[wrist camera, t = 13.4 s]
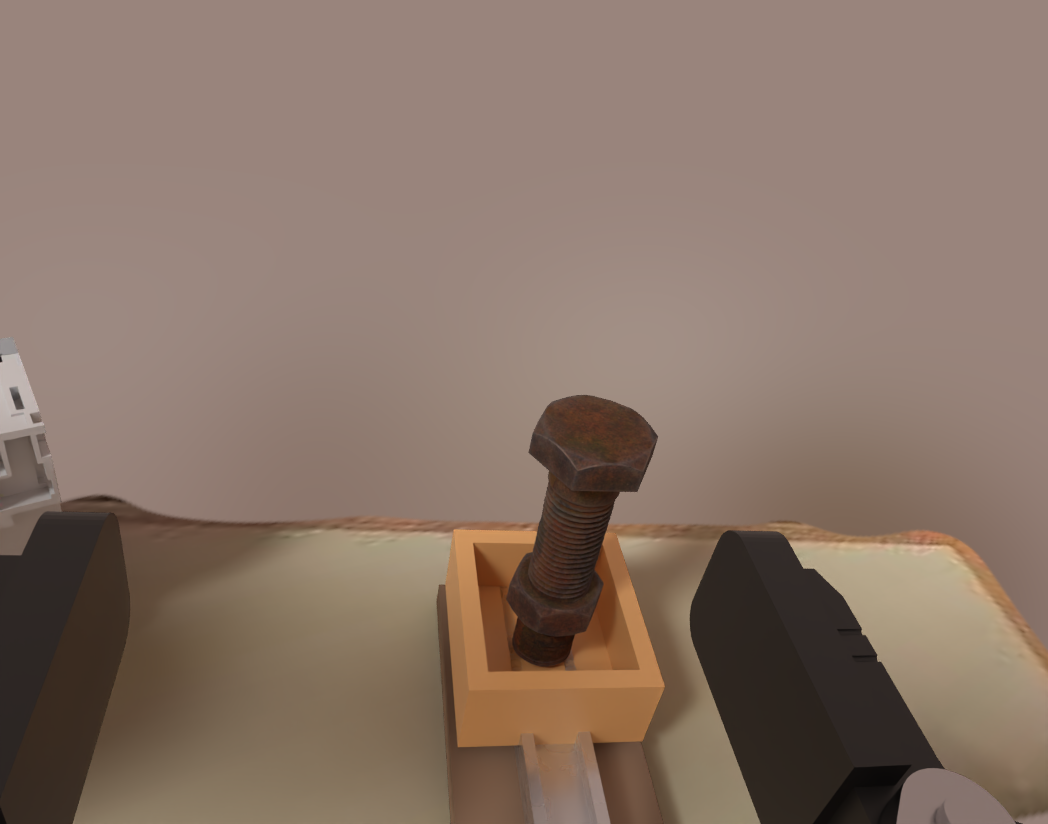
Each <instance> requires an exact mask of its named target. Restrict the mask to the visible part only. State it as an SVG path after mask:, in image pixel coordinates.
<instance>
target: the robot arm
mask: <svg viewBox="0 0 1048 824" xmlns="http://www.w3.org/2000/svg"><path fill="white" fill-rule="evenodd" d="M129 617H130V596H129V588H128V582H127V575H126V569H125V563H124V556H123V550H122V543H121V537H120V530H119V524H118V520H117V517H116V515H115V514H114V513H94V512H55V511H46V512H44V513H43V514H42V515H41V516H40V518H39V519H38V521H37V523H36V525H35V527H34V529H33V531H32V533H31V535H30V538H29V540H28V542H27V544H26V546H25V548H24V550H23V553H22V555H0V824H72V823H73V820H74V816H75V813H76V810H77V806H78V803H79V799H80V796H81V793H82V789H83V786H84V783H85V779H86V776H87V772H88V769H89V766H90V762H91V759H92V755H93V752H94V749H95V745H96V742H97V739H98V735H99V732H100V728H101V725H102V722H103V718H104V715H105V711H106V708H107V705H108V701H109V698H110V695H111V691H112V688H113V684H114V681H115V678H116V674H117V671H118V667H119V664H120V661H121V657H122V654H123V651H124V647H125V643H126V639H127V633H128V627H129ZM861 630H862V628H861V627H860V625H859V623H858V621H857V620H856V618H855V616H854V615H853V613H852V611H851V610H850V608H849V606H848V604H847V603H846V601H845V599H844V598H843V596H842V595H841V594H840V593H839V592H837V591H836V590H835V589H834V588H833V587H832V586H831V585H830V584H829V583H828V582H827V581H826V580H825V579H824V578H823V577H822V576H821V575H820V574H819V573H818V572H817V571H816V570H815V569H803V567H802V565H801V564H800V562H799V560H798V558H797V556H796V555H795V553H794V551H793V549H792V547H791V546H790V544H789V542H788V540H787V539H786V538H785V537H784V535H782V534H781V533H779V532H770V531H726V532H725V533H723V535H722V536H721V537H720V539H719V541H718V543H717V546H716V548H715V550H714V553H713V555H712V557H711V559H710V562H709V564H708V566H707V569H706V571H705V573H704V575H703V578H702V580H701V582H700V585H699V587H698V589H697V591H696V594H695V596H694V598H693V601H692V605H691V610H690V631H691V637H692V641H693V644H694V647H695V650H696V652H697V655H698V658H699V660H700V663H701V666H702V668H703V671H704V674H705V676H706V679H707V682H708V684H709V687H710V690H711V692H712V695H713V698H714V700H715V703H716V706H717V708H718V711H719V714H720V716H721V719H722V722H723V724H724V727H725V730H726V732H727V735H728V738H729V740H730V743H731V746H732V748H733V751H734V754H735V756H736V759H737V762H738V764H739V767H740V770H741V772H742V775H743V778H744V780H745V783H746V786H747V788H748V791H749V794H750V796H751V799H752V802H753V804H754V807H755V810H756V812H757V815H758V818H759V820H760V823H761V824H1022V823H1018V822H1016V821H1014V820H1013V819H1012V817H1011V816H1010V814H1009V813H1008V812H1007V810H1006V809H1005V808H1004V807H1003V806H1002V805H1001V804H1000V803H999V802H998V800H996V799H995V798H994V797H993V796H992V795H991V794H990V793H989V792H988V791H986V790H985V789H983V788H982V787H981V786H979V785H978V784H977V783H975V782H973V781H972V780H970V779H968V778H966V777H964V776H962V775H960V774H958V773H955V772H952V771H948V770H945V769H944V767H943V766H942V764H941V763H940V761H939V760H938V758H937V757H936V755H935V753H934V751H933V750H932V748H931V746H930V745H929V743H928V741H927V739H926V738H925V736H924V734H923V733H922V731H921V729H920V727H919V726H918V724H917V722H916V721H915V719H914V717H913V716H912V714H911V712H910V710H909V709H908V707H907V705H906V704H905V702H904V700H903V698H902V697H901V695H900V693H899V692H898V690H897V688H896V686H895V685H894V683H893V681H892V680H891V678H890V676H889V674H888V673H887V671H886V669H885V668H884V666H883V664H882V663H881V662H878V661H877V654H876V652H875V651H874V649H873V647H872V645H871V644H870V642H869V640H868V639H867V637H866V635H862V633H861Z"/></svg>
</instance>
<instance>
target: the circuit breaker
mask: <svg viewBox="0 0 1048 824" xmlns="http://www.w3.org/2000/svg"><path fill="white" fill-rule="evenodd" d="M44 433H46V430H45V426H44V423H43V422H42V421H41V416H40V412H39V409H38V406H37V403H36V400H35V398H34V395H33V392H32V389H31V386H30V384H29V381H28V378H27V375H26V373H25V370H24V367H23V364H22V361H21V358H20V356H19V353H18V350H17V347H16V345H15V342H14V339H13V337H10V338H3V339H0V555H22V553H23V550H24V548H25V546H26V544H27V542H28V540H29V538H30V535H31V533H32V531H33V529H34V527H35V525H36V523H37V521H38V519H39V518H40V516H41V515H42V514H43V513H44V512H46V511H55V512H62V510H61V505H60V502H61V498H60V493H59V489H58V484H57V479H56V475H55V470H54V466H53V461H52V457H51V453H50V451H49V448H48V445H47V442H46V439H45V435H44Z"/></svg>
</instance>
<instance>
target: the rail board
mask: <svg viewBox="0 0 1048 824" xmlns="http://www.w3.org/2000/svg"><path fill="white" fill-rule="evenodd" d="M437 615H438V631H439V647H440V662H441V678H442V694H443V709H444V725H445V741H446V756H447V772H448V788H449V803H450V819H451V824H525V820H524V813H523V806H522V798H521V791H520V784H519V776H518V769H517V762H516V755H515V747H514V745H513V746H482V747H458V744H457V731H456V718H455V705H454V692H453V679H452V666H451V653H450V640H449V626H448V613H447V600H446V587H445V585H439V589H438V596H437ZM593 747H594V752H595V756H596V761H597V765H598V770H599V774H600V778H601V783H602V787H603V792H604V796H605V801H606V805H607V810H608V814H609V819H610V823H611V824H663V820H662V816H661V813H660V809H659V806H658V802H657V798H656V795H655V791H654V787H653V784H652V780H651V776H650V773H649V769H648V766H647V762H646V758H645V755H644V751H643V747H642V744H641V741H637V742H606V743H593Z"/></svg>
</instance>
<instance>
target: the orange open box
mask: <svg viewBox="0 0 1048 824" xmlns="http://www.w3.org/2000/svg"><path fill="white" fill-rule="evenodd" d="M536 536H537V531H499V530H454V531H453V538H452V544H451V551H450V557H449V564H448V571H447V577H446V584H445V587H446V600H447V613H448V626H449V640H450V653H451V666H452V679H453V692H454V705H455V718H456V731H457V744H458V747H482V746H513V745H518V743H519V740H520V736H521V733H533V735H534V742H535V745H544V744H574V743H575V740H576V737H577V735H578V732H590V734H591V738H592V743H606V742H637V741H643V739H644V736H645V734H646V731H647V729H648V727H649V724H650V722H651V719H652V717H653V715H654V712H655V710H656V707H657V705H658V703H659V700H660V698H661V695H662V693H663V691H664V688H665V685H664V682H663V679H662V676H661V673H660V670H659V666H658V663H657V660H656V657H655V654H654V651H653V648H652V645H651V641H650V638H649V635H648V632H647V629H646V626H645V623H644V620H643V616H642V613H641V610H640V607H639V604H638V601H637V598H636V595H635V591H634V588H633V585H632V582H631V579H630V576H629V573H628V570H627V567H626V563H625V560H624V557H623V554H622V551H621V548H620V545H619V542H618V538H617V535H616V533H605V536H604V540H603V543H602V546H601V549H600V553H599V556H598V560H597V562H596V566H595V571H596V572H597V574H598V575H599V577H600V578H601V580H602V581H603V583H604V585H603V588H602V591H601V594H600V597H599V600H598V603H597V606H596V608H595V611H594V613H593V616H592V618H591V621H590V623H589V626H588V628H587V630H586V631H585V632H582V633H578V634H575V637H574V640H573V643H572V648H571V651H572V652H571V651H570V653H571V654H569V656H568V659H569V658H570V655H572V654H573V657H572V656H571V658H570V659H569V660H568V659H566V660H567V661H568V663H569V664H568V663H565V662H566V661H565V662H564V661H563V662H562V663H560V664H556V665H553V666H544V667H542V666H536V665H533V664H531V663H529V662H527V661H525V660H524V659H522V658H521V657H519V656H518V655H517V654H516V652H515V651H514V650H512V649H511V648H512V647H513V646H512V643H511V642H512V638H513V636H512V635H513V633H514V630H515V629H514V627H515V625H516V622H517V618H518V616H517V615H516V614H515V613H514V612H513V610H512V608H511V607H509V606H510V605H509V603H508V602H506V601H507V600H505V599H504V598H507V596H505V595H507V593H508V591H507V590H508V589H507V588H509V585H510V582H511V580H512V578H513V575H514V573H515V571H516V569H517V567H518V565H519V563H520V562H521V560H522V559H523V557H524V556H525V555H526V553H530V552H533V547H534V543H535V540H536ZM501 586H502V588H503V589H505V590H503V589H502V588H501ZM502 590H503V592H504V591H506V592H507V593H506V592H504V594H505V595H502V594H503V592H502V593H501V591H502ZM501 596H502V597H501ZM501 598H502V600H501ZM503 600H504V601H505V602H506V603H507V604H506V603H504V601H503ZM502 602H503V603H502ZM503 604H505V605H503ZM503 607H504V608H503ZM506 608H507V609H508V608H509V609H508V610H510V612H509V611H507V609H506ZM504 609H505V611H506V612H505V611H504V612H503V610H504ZM511 611H512V612H511ZM507 612H508V613H507ZM505 613H507V614H506V617H505V618H507V619H506V620H504V614H505ZM512 613H513V614H512ZM509 614H510V615H509ZM507 615H508V616H509V617H510V618H511V619H510V618H508V616H507ZM511 615H512V616H511ZM513 615H514V616H513ZM512 617H513V618H512ZM508 619H509V620H511V621H510V623H509V621H507V620H508ZM512 620H513V622H512ZM514 620H515V621H514ZM505 621H506V624H507V623H509V624H507V625H506V624H505ZM511 622H512V623H511ZM514 622H515V623H514ZM513 623H514V624H515V625H511V624H513ZM508 625H509V626H510V627H512V628H513V630H512V628H511V631H509V630H510V627H508ZM506 626H507V628H506ZM513 626H514V627H513ZM506 629H508V630H507V631H508V632H509V634H511V633H512V634H511V635H509V634H507V633H506V632H507V631H506ZM510 632H511V633H510ZM507 635H509V636H507ZM507 638H508V641H507ZM509 640H510V642H509ZM508 643H509V645H510V647H511V648H510V647H508V646H509V645H508ZM509 648H510V649H511V650H512V652H513V653H515V654H513V653H511V650H510V649H509ZM509 650H510V651H509ZM509 652H510V653H511V655H510V654H509ZM512 654H513V657H512ZM516 655H517V656H516ZM510 656H511V657H510ZM515 656H516V657H515ZM517 657H519V658H517ZM512 658H513V659H514V660H513V659H512ZM516 658H517V660H518V661H517V660H516ZM572 658H573V659H574V660H573V661H574V665H575V666H572V665H573V661H572V662H570V660H571V659H572ZM519 659H520V660H522V661H520V660H519ZM511 661H512V663H513V664H512V663H511ZM513 661H514V662H513ZM516 662H517V664H518V665H520V666H521V663H522V666H521V667H520V666H518V665H517V664H516ZM564 663H565V664H566V666H565V665H564ZM511 664H512V665H511ZM571 664H572V665H571ZM514 665H515V666H516V667H517V668H519V667H520V668H521V669H520V668H519V669H518V670H517V668H516V667H515V666H514ZM567 665H568V666H567ZM570 665H571V667H570ZM513 666H514V667H513ZM512 667H513V668H514V669H515V670H517V671H515V670H512ZM567 667H569V668H568V669H569V670H570V669H571V670H570V671H568V669H566V668H567ZM575 667H576V668H575ZM573 668H574V669H573ZM566 670H567V671H566ZM573 670H574V671H573ZM575 670H576V671H575Z"/></svg>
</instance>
